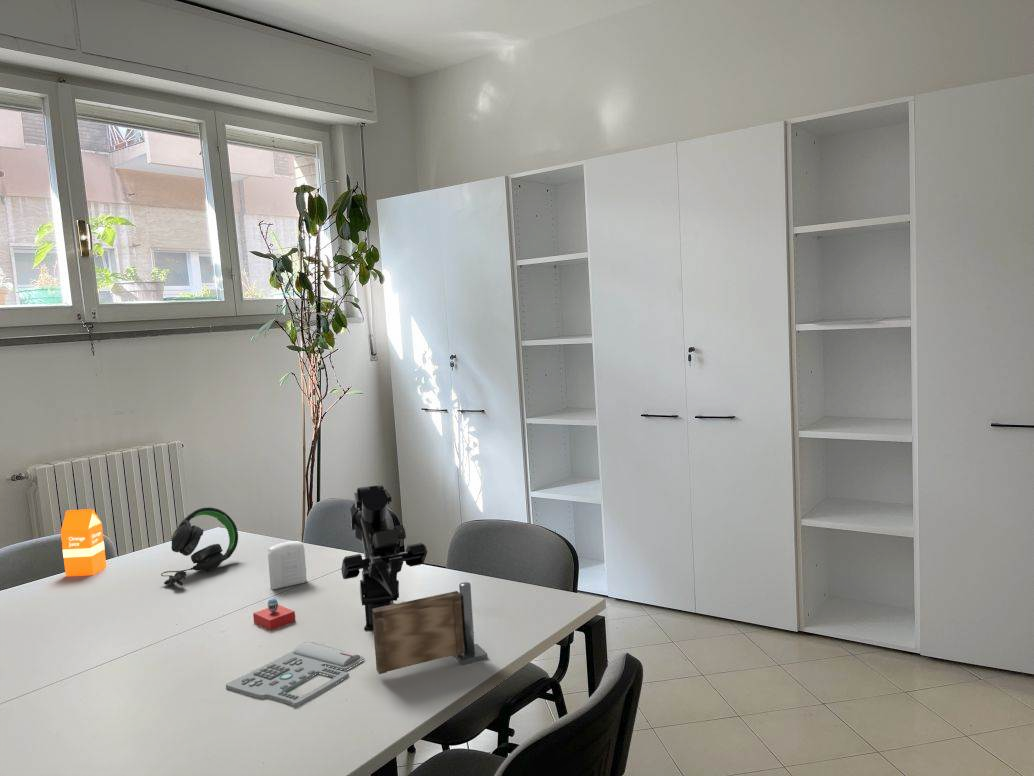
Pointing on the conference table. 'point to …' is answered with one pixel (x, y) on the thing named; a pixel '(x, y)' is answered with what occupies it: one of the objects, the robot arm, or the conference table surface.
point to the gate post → (468, 629)
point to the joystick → (274, 616)
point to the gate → (417, 631)
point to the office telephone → (295, 673)
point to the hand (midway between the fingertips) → (393, 594)
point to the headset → (189, 538)
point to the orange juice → (82, 543)
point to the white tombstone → (287, 564)
